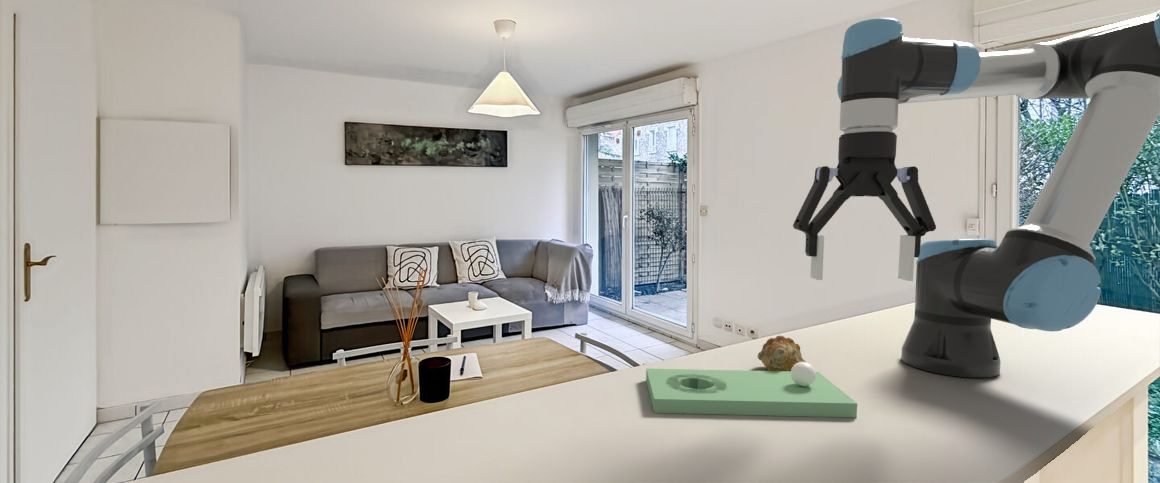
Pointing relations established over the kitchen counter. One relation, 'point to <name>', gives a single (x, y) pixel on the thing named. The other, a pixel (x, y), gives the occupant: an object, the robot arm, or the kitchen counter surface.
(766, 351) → the seashell
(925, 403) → the kitchen counter surface
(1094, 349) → the kitchen counter surface
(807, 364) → the ball
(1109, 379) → the kitchen counter surface
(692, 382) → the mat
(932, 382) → the kitchen counter surface
